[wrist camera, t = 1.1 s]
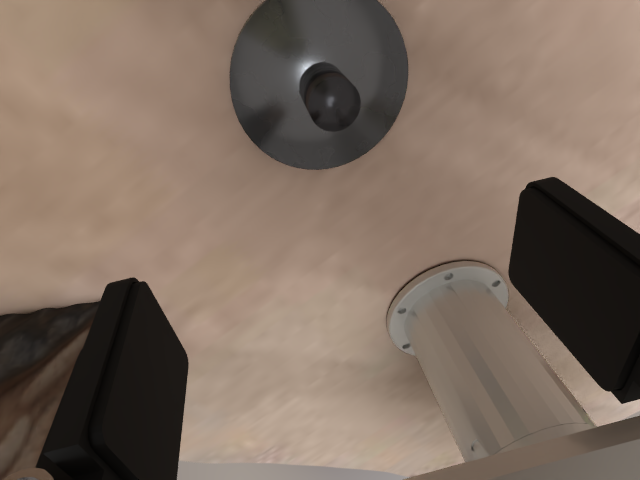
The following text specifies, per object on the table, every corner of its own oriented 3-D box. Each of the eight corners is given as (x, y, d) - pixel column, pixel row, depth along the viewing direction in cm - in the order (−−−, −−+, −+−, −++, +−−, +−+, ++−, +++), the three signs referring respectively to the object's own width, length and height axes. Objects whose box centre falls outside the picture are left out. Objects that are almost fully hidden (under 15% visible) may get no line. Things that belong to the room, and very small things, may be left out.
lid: (409, 140, 31) (436, 168, 27) (260, 181, 30) (265, 216, 26) (394, -44, 24) (428, -43, 20) (201, 8, 23) (196, 20, 19)
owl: (141, 390, 41) (85, 676, 25) (-7, 395, 37) (-183, 729, 21) (135, 296, 34) (53, 607, 18) (-47, 292, 31) (-348, 670, 15)
